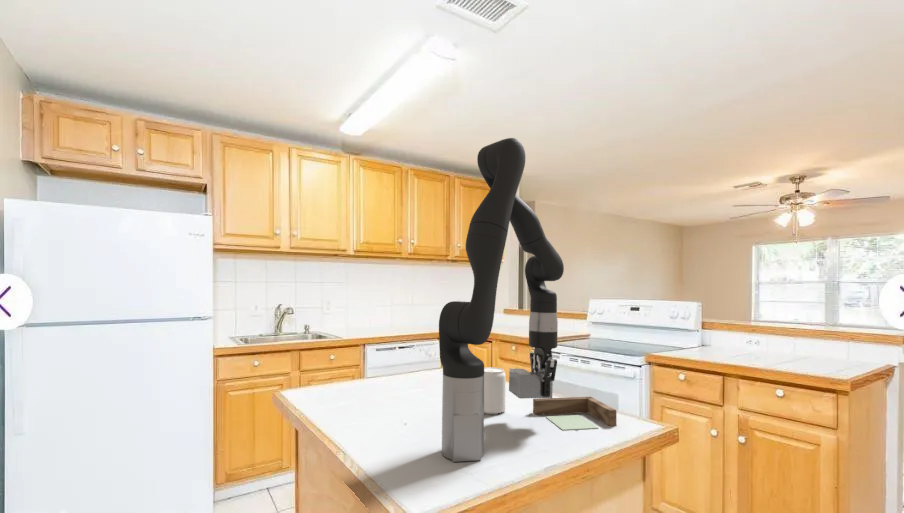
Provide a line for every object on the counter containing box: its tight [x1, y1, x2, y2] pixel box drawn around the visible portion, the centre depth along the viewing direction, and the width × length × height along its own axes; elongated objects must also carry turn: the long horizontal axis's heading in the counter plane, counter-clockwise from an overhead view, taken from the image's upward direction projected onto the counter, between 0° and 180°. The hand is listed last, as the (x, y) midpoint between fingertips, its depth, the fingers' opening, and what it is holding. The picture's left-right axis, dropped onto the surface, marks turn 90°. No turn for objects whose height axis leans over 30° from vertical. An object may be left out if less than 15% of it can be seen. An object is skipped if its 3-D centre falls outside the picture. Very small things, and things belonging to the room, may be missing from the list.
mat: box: [545, 414, 599, 431], centre depth 120 cm, size 11×10×1 cm
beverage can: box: [484, 366, 507, 415], centre depth 130 cm, size 8×8×12 cm
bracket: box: [508, 368, 554, 399], centre depth 120 cm, size 9×9×6 cm
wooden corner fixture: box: [532, 396, 617, 427], centre depth 123 cm, size 14×18×4 cm
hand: (542, 394), depth 118 cm, fingers closed on bracket, 4 cm apart
